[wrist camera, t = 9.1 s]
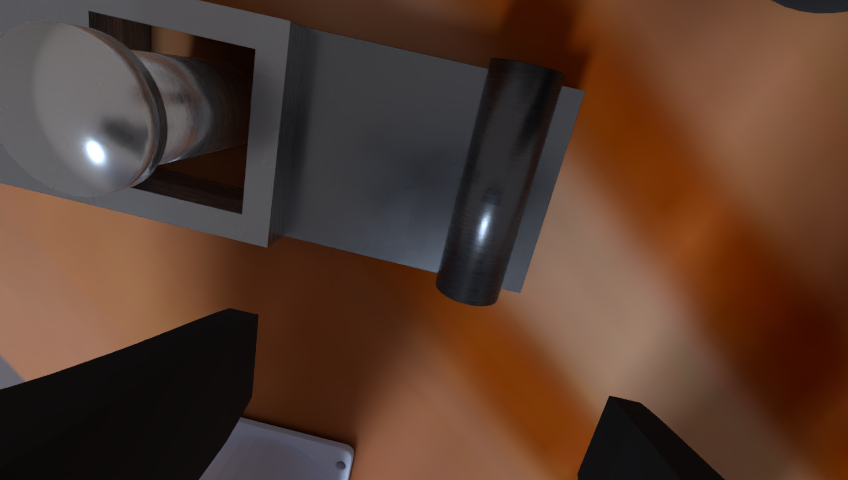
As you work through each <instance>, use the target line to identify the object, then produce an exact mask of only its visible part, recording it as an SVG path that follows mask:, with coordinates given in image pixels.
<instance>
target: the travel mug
mask: <svg viewBox="0 0 848 480" xmlns="http://www.w3.org/2000/svg"><path fill="white" fill-rule="evenodd" d="M772 1H774V2H776V3H778V4H781V5H783V6H785V7H788V8H792V9H795V10H798V11H804V12H811V13H837V12H846V11H848V0H772Z"/></svg>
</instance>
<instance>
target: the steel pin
mask: <svg viewBox="0 0 848 480" xmlns="http://www.w3.org/2000/svg"><path fill="white" fill-rule="evenodd" d="M252 87H253V80H252V78H251V77H250V76H249V75H248V74H247V73H246V72H245V71H244V70H242V69H241V68H239V67H238V66H236V65H234V64H232V63H229V62H225V61H219V60H211V59H202V58H194V57H186V56H178V55H169V54H161V53H153V52H144V51H136V50H130V49H129V48H127V47H126V46H125V45H124V44H122V43H121V42H120V41H118V40H117V39H115V38H114V37H112V36H110V35H108V34H106V33H104V32H101V31H99V30H96V29H93V28H89V27H84V26H79V25H73V24H67V23H61V22H55V21H44V20H40V21H30V22H26V23H22V24H20V25H18V26H15V27H13V28H12V29H10V30H9V31H7V32H6V33H5V34H4V35H3V36H2V37H1V38H0V141H1V142H2V144H3V146H4V147H5V148H6V150H7V151H8V153H9V154H10V155H11V156H12V158H13V159H14V160H15V161H16V162H17V163H18V164H19V165H20V166H21V167H22V168H23V169H24V170H25V171H26V172H27V173H28V174H30V175H31V176H32V177H33V178H35V179H36V180H38V181H39V182H41V183H42V184H44V185H46V186H48V187H50V188H52V189H54V190H56V191H59V192H61V193H64V194H68V195H72V196H78V197H96V196H102V195H106V194H109V193H113V192H117V191H120V190H124V189H127V188H130V187H133V186H135V185H137V184H139V183H141V182H143V181H144V180H145V179H147V178H148V177H149V176H150V175H151V174H152V173H153V172H154V171H155V169H156V168H157V166H158V165H160V164H165V163H169V162H173V161H177V160H182V159H186V158H190V157H194V156H199V155H203V154H207V153H211V152H216V151H220V150H224V149H228V148H232V147H237V146H240V145H243V144H245V143H247V142H248V136H249V124H250V112H251V99H252Z"/></svg>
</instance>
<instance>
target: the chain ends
mask: <svg viewBox="0 0 848 480" xmlns="http://www.w3.org/2000/svg"><path fill="white" fill-rule="evenodd" d="M40 20H44V21H55V22H61V23H67V24H73V25H79V26H84V27H89V28H93V29H96V30H99V31H101V32H104V33H106V34H108V35H110V36H112V37H114V38H115V39H117V40H118V41H120V42H121V43H122V44H124V45H125V46H126V47H127V48H129V49H130V50H136V51H144V52H150V47H151V25H153V26H157V27H161V28H166V29H170V30H174V31H179V32H183V33H188V34H192V35H196V36H201V37H205V38H209V39H214V40H218V41H222V42H227V43H231V44H235V45H240V46H244V47H248V48H253V49H256V50H255V62H254V75H253V87H252V99H251V112H250V124H249V136H248V148H247V161H246V173H245V185H244V189H241V188H237V187H233V186H228V185H224V184H220V183H216V182H212V181H207V180H203V179H199V178H195V177H191V176H187V175H182V174H178V173H174V172H170V171H166V170H162V169H157V168H156V169H155V171H154V172H153V173H152V174H151V175H150V176H149V177H148V178H147V179H145V180H144V181H143V182H141V183H139V184H137V185H135V186H133V187H130V188H127V189H124V190H120V191H117V192H113V193H109V194H106V195H102V196H96V197H78V196H72V195H68V194H64V193H61V192H59V191H56V190H54V189H52V188H50V187H48V186H46V185H44V184H42V183H41V182H39V181H38V180H36V179H35V178H33V177H32V176H31V175H30V174H28V173H27V172H26V171H25V170H24V169H23V168H22V167H21V166H20V165H19V164H18V163H17V162H16V161H15V160H14V159H13V158H12V156H11V155H10V154H9V153H8V151H7V150H6V148H5V147H4V146H3V144H2V142H1V141H0V183H3V184H7V185H11V186H15V187H20V188H24V189H28V190H32V191H36V192H40V193H44V194H48V195H52V196H57V197H61V198H65V199H69V200H73V201H77V202H81V203H85V204H89V205H94V206H98V207H102V208H106V209H110V210H114V211H118V212H122V213H126V214H131V215H135V216H139V217H143V218H147V219H151V220H155V221H159V222H163V223H168V224H172V225H176V226H180V227H184V228H188V229H192V230H196V231H201V232H205V233H209V234H213V235H217V236H221V237H225V238H229V239H233V240H238V241H242V242H246V243H250V244H254V245H258V246H262V247H266V248H267V247H269V246H270V245H271V244H273V243H274V242H275V241H277V240H278V239H279V238H281V237H282V236H286V237H290V238H295V239H299V240H303V241H307V242H311V243H315V244H319V245H323V246H328V247H332V248H336V249H340V250H344V251H348V252H352V253H357V254H361V255H365V256H369V257H373V258H377V259H381V260H385V261H390V262H394V263H398V264H402V265H406V266H410V267H414V268H419V269H423V270H427V271H431V272H435V273H438V275H437V279H436V287H437V288H438V290H439V291H440V292H441V293H443V294H444V295H445V296H447V297H449V298H451V299H453V300H455V301H458V302H461V303H464V304H468V305H474V306H488V305H492V304H494V303H496V301H497V299H498V296H499V293H500V290H501V289H505V290H509V291H514V292H518V293H520V292H521V289H522V286H523V283H524V280H525V276H526V273H527V270H528V267H529V264H530V261H531V258H532V255H533V251H534V248H535V245H536V242H537V239H538V236H539V233H540V230H541V227H542V223H543V220H544V217H545V214H546V211H547V208H548V205H549V202H550V199H551V195H552V192H553V189H554V186H555V183H556V180H557V177H558V174H559V170H560V167H561V164H562V161H563V158H564V155H565V152H566V149H567V146H568V142H569V139H570V136H571V133H572V130H573V127H574V124H575V121H576V117H577V114H578V111H579V108H580V105H581V102H582V99H583V96H584V93H585V91H583V90H579V89H574V88H570V87H565V86H562V85H563V82H564V79H565V74H564V73H561V72H559V71H555V70H552V69H548V68H545V67H541V66H537V65H532V64H528V63H523V62H518V61H512V60H506V59H499V58H491V60H490V64H489V68H488V69H486V68H482V67H477V66H473V65H469V64H464V63H460V62H455V61H451V60H447V59H442V58H438V57H434V56H429V55H425V54H420V53H416V52H412V51H407V50H403V49H398V48H394V47H390V46H385V45H381V44H376V43H372V42H368V41H363V40H359V39H354V38H350V37H346V36H341V35H337V34H332V33H328V32H324V31H319V30H315V29H310V28H307V27H304V26H302V25H299V24H297V23H294V22H292V21H289V20H284V19H280V18H275V17H271V16H267V15H262V14H258V13H253V12H249V11H245V10H240V9H236V8H231V7H227V6H223V5H218V4H214V3H209V2H205V1H201V0H0V38H1V37H2V36H3V35H4V34H5V33H6V32H7V31H9V30H10V29H12V28H13V27H15V26H18V25H20V24H22V23H26V22H30V21H40Z"/></svg>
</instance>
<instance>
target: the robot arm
mask: <svg viewBox="0 0 848 480" xmlns="http://www.w3.org/2000/svg"><path fill="white" fill-rule="evenodd" d="M257 327H258V315H257V314H253V313H248V312H244V311H239V310H235V309H231V308H229V309H226V310H223V311H220V312H217V313H214V314H211V315H208V316H206V317H203V318H201V319H198V320H195V321H193V322H190V323H188V324H185V325H183V326H180V327H178V328H175V329H173V330H170V331H168V332H165V333H162V334H160V335H157V336H155V337H152V338H150V339H147V340H144V341H142V342H139V343H137V344H134V345H132V346H129V347H126V348H124V349H121V350H118V351H115V352H112V353H110V354H107V355H104V356H101V357H98V358H95V359H93V360H90V361H87V362H84V363H81V364H78V365H76V366H73V367H70V368H67V369H64V370H61V371H59V372H56V373H53V374H50V375H47V376H43V377H40V378H37V379H34V380H31V381H28V382H24V383H21V384H18V385H14V386H11V387H8V388H4V389H1V390H0V480H349V477H350V472H351V467H352V463H353V458H354V450H353V448H352V447H350V446H349V445H347V444H343V443H339V442H335V441H332V440H328V439H324V438H320V437H316V436H312V435H308V434H304V433H300V432H296V431H292V430H288V429H285V428H281V427H277V426H273V425H269V424H265V423H261V422H257V421H253V420H249V419H245V418H241V416H242V414H243V412H244V410H245V408H246V407H247V405H248V403H249V401H250V399H251V397H252V389H253V377H254V364H255V352H256V339H257ZM339 461H342V462H344V463H341V462H339ZM578 480H724V479H723V478H722V477H721V476H720V475H719V474H718V473H717V472H716V471H715V470H714V469H713V468H712V467H711V466H709V465H708V464H707V463H706V462H705V461H704V460H703V459H702V458H701V457H700V456H699V455H698V454H697V453H696V452H695V451H694V450H692V449H691V448H690V447H689V446H688V445H687V444H686V443H685V442H684V441H683V440H682V439H681V438H680V437H679V436H678V435H677V434H675V433H674V432H673V431H672V430H671V429H670V428H669V427H668V426H667V425H666V424H665V423H664V422H662V421H661V420H660V419H659V418H658V417H657V416H656V415H655V414H653V413H652V412H651V411H650V410H649V409H647V408H646V407H645V406H644V405H642V404H641V403H639V402H635V401H630V400H626V399H622V398H617V397H613V396H609V398H608V400H607V403H606V405H605V408H604V410H603V413H602V415H601V418H600V420H599V422H598V425H597V427H596V430H595V432H594V435H593V437H592V440H591V442H590V445H589V447H588V449H587V452H586V454H585V457H584V459H583V462H582V464H581V467H580V469H579V472H578Z"/></svg>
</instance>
